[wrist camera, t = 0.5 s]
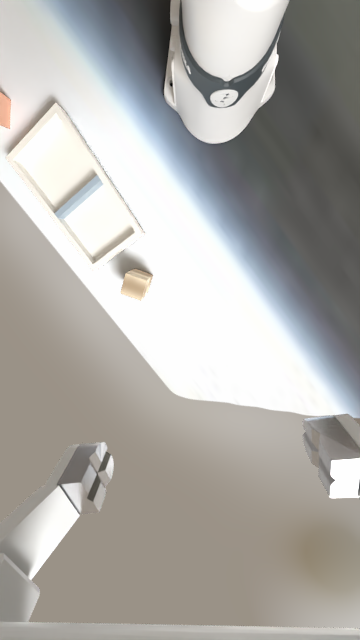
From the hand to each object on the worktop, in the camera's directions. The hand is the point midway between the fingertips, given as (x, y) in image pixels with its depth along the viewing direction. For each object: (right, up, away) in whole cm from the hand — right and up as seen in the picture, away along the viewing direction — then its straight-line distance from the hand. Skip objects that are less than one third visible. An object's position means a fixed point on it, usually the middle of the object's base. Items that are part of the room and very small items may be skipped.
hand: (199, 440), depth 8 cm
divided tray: (-21, +30, +35) cm, 51 cm away
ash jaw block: (-10, +14, +41) cm, 45 cm away
